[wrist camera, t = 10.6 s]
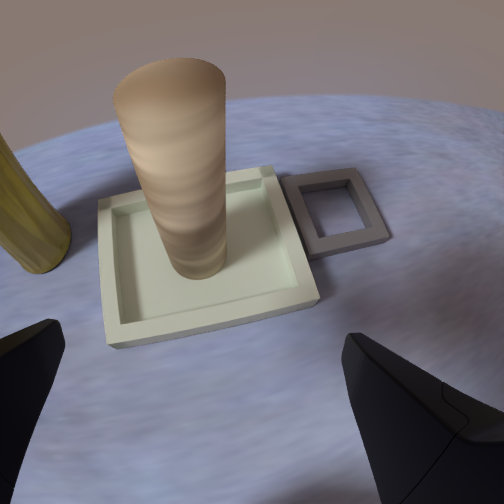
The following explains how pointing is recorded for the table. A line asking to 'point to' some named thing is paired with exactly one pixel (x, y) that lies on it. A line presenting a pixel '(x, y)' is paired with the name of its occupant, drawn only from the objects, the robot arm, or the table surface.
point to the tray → (207, 290)
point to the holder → (340, 242)
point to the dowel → (180, 157)
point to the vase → (29, 219)
